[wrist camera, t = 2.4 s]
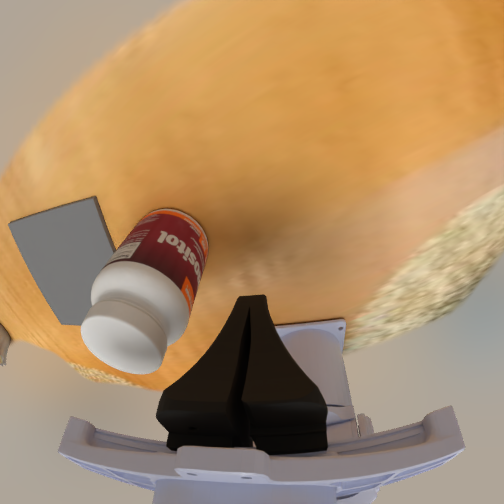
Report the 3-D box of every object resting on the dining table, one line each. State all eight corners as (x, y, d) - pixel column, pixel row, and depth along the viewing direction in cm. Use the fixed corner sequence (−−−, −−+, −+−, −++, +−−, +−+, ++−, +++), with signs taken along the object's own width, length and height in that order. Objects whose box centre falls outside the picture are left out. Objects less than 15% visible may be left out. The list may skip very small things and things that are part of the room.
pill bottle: (224, 257, 23) (201, 375, 13) (164, 282, 24) (122, 387, 15) (183, 191, 20) (119, 289, 11) (123, 225, 21) (50, 321, 12)
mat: (149, 323, 27) (148, 326, 27) (63, 321, 29) (61, 324, 28) (95, 196, 20) (93, 198, 20) (10, 222, 21) (7, 224, 21)
